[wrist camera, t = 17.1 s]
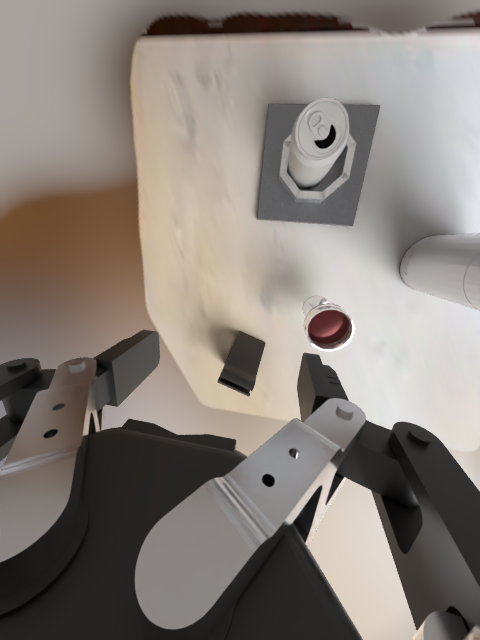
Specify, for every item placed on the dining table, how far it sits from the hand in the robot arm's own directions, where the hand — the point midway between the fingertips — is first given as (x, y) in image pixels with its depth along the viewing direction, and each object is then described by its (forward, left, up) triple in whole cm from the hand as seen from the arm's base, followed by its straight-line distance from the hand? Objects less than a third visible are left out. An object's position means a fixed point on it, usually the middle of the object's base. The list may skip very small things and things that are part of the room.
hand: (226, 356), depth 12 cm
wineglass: (-11, +5, -33) cm, 35 cm away
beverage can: (-5, -18, -32) cm, 37 cm away
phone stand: (+2, +17, -33) cm, 37 cm away
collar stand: (-6, -18, -33) cm, 38 cm away
